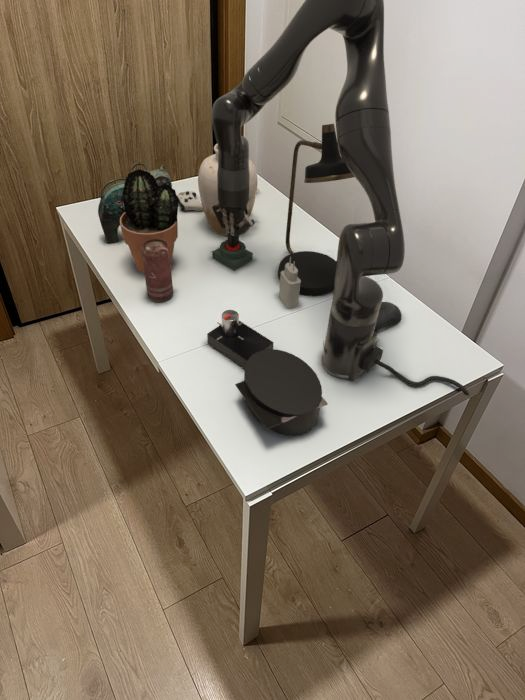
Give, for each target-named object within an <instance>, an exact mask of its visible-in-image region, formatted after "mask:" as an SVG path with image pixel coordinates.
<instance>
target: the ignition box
mask: <svg viewBox="0 0 525 700" xmlns="http://www.w3.org/2000/svg"><path fill="white" fill-rule="evenodd" d="M227 243H228V242H227V239H225V240H223V241H222V242H221V243H220V245H219V247H217V248H216V249H214V250H212V252H211V258H212V259H213V260H214V261H216V262H218V263H219V264H221V265H222V266H225V268H228V269H230V270H232V271H233V272H236V271H237V270H239V269H240V268H242V267H243V266H246V265H247V264H249V263H250V262H252V261H253V260H254V253H253V252H252V251H250V250H248V249H247V247H246V245H245V242H243V241H241V240H239V245H240V249H239V250H237V251H229V250H227V249H226V244H227Z"/></svg>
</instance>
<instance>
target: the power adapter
mask: <svg viewBox="0 0 525 700" xmlns="http://www.w3.org/2000/svg"><path fill="white" fill-rule="evenodd" d="M294 264H295V261H294V263H293V264H292V263H291V257H290V262H289V263H286V265H285V270H284V271H281V275H280V281H279V287H278V299H279V300H280V302H282V304H283V305H284V308H286V309H293V308H297V307H298V306H299V299H300V294H299V291H300V283H301V280H300V279H299V278H298V276H297V275H298V269H297V268H296V267H295V266H294Z"/></svg>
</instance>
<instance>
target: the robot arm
mask: <svg viewBox="0 0 525 700" xmlns="http://www.w3.org/2000/svg"><path fill="white" fill-rule="evenodd" d="M328 29H331V30H332V31H333V32H336V33H338V34H340V35H341V36H342V37H343V41H344V46H345V55H346V76H345V80H344V83H343V86H342V88H341V91H340V93H339V96H338V99H337V102H336V106H335V114H334V117H335V119H334V120H335V132H336V137H337V143H338V149H339V153H340V156H341V157H342V159H343V161H344V162H345V164H346V165H347V167H348V168H349V170H350V171H351V172H352V174H353V175H354V176H355V177H354V178H355V179H356V181H357V182H358V183H359V185H361V187H362V188H363V191H364V193H366V195H367V197H368V200H369V202H370V206H371V208H372V213H373V217H374V221H369V222H357V223H349V224H346V225H345V226H344V227H343V228H342V230H341V232H340V235H339V238H338V244H337V253H336V261H337V263H336V270H335V279H334V291H333V292H332V293H333V294H332V300H331V306H330V311H329V318H328V322H327V328H326V334H325V340H324V341H323V342H322V349H323V350H322V355H321V360H320V361H321V365H322V367H323V369H324V370H325V371H326V372H327V373H328V374H329V375H331V376H333V377H335V378H338V379H343V380H344V379H345V380H349V381H351V382H354V381H355V380H356V379H357V378H359V377H360V376H361V375H363V373H364V372H366V373H369V371H371V370H372V369H373V368H374V367H375V366H376V365H378V366H379V367H381V368H383V369H384V370H386V371H388V372H390V373H391V374H392V375H393V376H395V377H396V378H398V379H399V380H400V381H402V382H403V383H405V384H407V385H409V386H412V387H423V386H425V385H426V384H428V383H430V382H432V381H440V382H445V383H448V384H450V385H453V386H455V387H456V388H457V389H459V390H460V391H461V392H462V393H463V394H464V395H465V396H470V392H469V390H467V389H466V387H465V386H464V385H463V384H461V383H460V382H458V381H456V380H454V379H452V378H449V377H445V376H440V375H431V376H428V377H426V378H424V379H423V380H421V381H414V380H413V381H412V380H410V379H408V377H406V376H404V375H403V374H401V373H400V372H398V371H397V370H396V369H395V368H393V367H392V366H390V365H389V364H386V363H385V362H383V361H381V360H382V357H383V353H384V349H382V348H381V347H379V346H377V345H376V344H375V342H376V338H378V333H377V332H374V330H375V326H376V322H377V318H378V314H379V310H380V306H381V303H382V302H383V299H384V291H383V288H382V287H381V285H380V284H379V283H378V282H377V281H376V280H374V279H372V278H371V277H369V276H382V275H390V274H396V273H398V272H399V271H400V270H401V268H402V267H403V264H404V261H405V255H406V254H405V253H406V248H405V247H406V246H405V245H406V244H405V235H404V228H403V222H402V216H401V211H400V206H399V200H398V195H397V189H396V182H395V181H396V180H395V174H394V173H395V171H394V162H393V160H394V159H393V150H392V148H393V147H392V146H393V145H392V130H391V119H390V109H389V103H388V93H387V78H386V67H385V66H386V65H385V52H384V51H385V48H384V47H385V46H384V45H385V36H384V35H385V0H304V1H303V3H302V4H301V6H300V7H299V8H298V10H297V11H296V13H295V14H294V15H293V17H292V19H291V20H290V22H288V24H287V26H286V27H285V29H284V30H283V32H282V33H281V34H280V35H279V37H278V38H277V39H276V41H275V42H274V43H273V45H272V46H271V47H270V48H269V49H268V50H267V51H266V52H265V53H264V54H263V55H262V56H261V57H260V58H259V59H258V60H257V61H256V62H255V63H254V65H252V66H251V68H249V70H248V71H246V73H245V74H244V76H243V78H242V80H241V82H240V83H239V84H237V85H236V86H235V87H234V88H233V89H232V90H230V91H228V92H226V94H223V95H222V96H220V97H218V98H217V99H216V100H215V101H214V103H213V105H212V108H211V119H210V120H211V125H212V129H213V132H214V137H215V140H216V144H218V171H217V188H218V201H219V203H218V204H216V205H214V206H212V209H213V211H214V213H215V215H216V217H217V219H218V221H219V224H220V226H221V227H222V228H225V229H226V232H227V235H226V240H227V242H228V245H229V246H231V247H232V248H233V247H235V246H237V245H238V244H239V241H240V236H242V235H244V234H245V233H247V232H248V231H249V230H250V229H251V228H252V227H253V226H254V225H256V221H255V220H254V219H253V218H252V219H251V217H250V218H249V217H248V210H247V204H248V201H249V181H250V172H249V159H250V143H249V140H248V139H247V138H246V137H245V136H243V135H242V127H243V126H244V125H246V124H247V123H249V122H250V121H251V120H252V119H253V118H255V117H256V115H257V114H259V113H260V112H261V110H262V109H263V108H264V107H265V106H266V105H267V103H269V102H271V100H273V99H274V98H275V97H276V96H277V95H279V93H281V92H282V91H283V90H284V89H285V88H286V87H287V86H288V85H289V84H290V83H291V81H293V79H294V77H295V76H296V74H297V72H298V70H299V67H300V64H301V62H302V59H303V56H304V53H305V51H306V50H307V49H308V47H309V45H310V44H311V43H312V42H313V41H314V40H315V39H316V38H317V37H319V36H320V35H321V34H323V33H324V32H326V31H327V30H328ZM222 217H223V220H224V222H223V220H222ZM243 219H244V221H243ZM241 225H243V226H242V227H241Z"/></svg>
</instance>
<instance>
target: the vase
mask: <svg viewBox="0 0 525 700" xmlns="http://www.w3.org/2000/svg"><path fill="white" fill-rule="evenodd" d="M213 151H214V154H211V155H209V156H207V157H205V158H204V160H203V161H202V162H201V164H200V166H199V168H198V176H197V187H198V193H199V198H200V203H202V207H203V210H202V211H203V213H204V216H205V218H206V220H207V222H208V224H209V226H210V228H211V230H213V231H214V232H215V233H217V234H220V235H226V236H227V232H226V229H225V228H222V227H221V226H220V224H219V221H218V219H217V217H216V215H215V213H214V211H213V209H212V206H214V205H216V204H218V203H219V201H218V188H217V171H218V144H217V143H216V144H215V145H214V146H213ZM249 172H250V181H249V201H248V204H247V210H248V217H249V218H250V219H251V215H252V213H253V209H254V206H255V203H256V199H257V198H256V197H257V192H258V191H257V189H258V173H257V168H256V166H255V164H254V162H253V161H252V160H251V159H250V158H249ZM222 220H223V217H222ZM243 221H244V219H243ZM223 222H224V220H223ZM242 226H243V225H241V227H242Z"/></svg>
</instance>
